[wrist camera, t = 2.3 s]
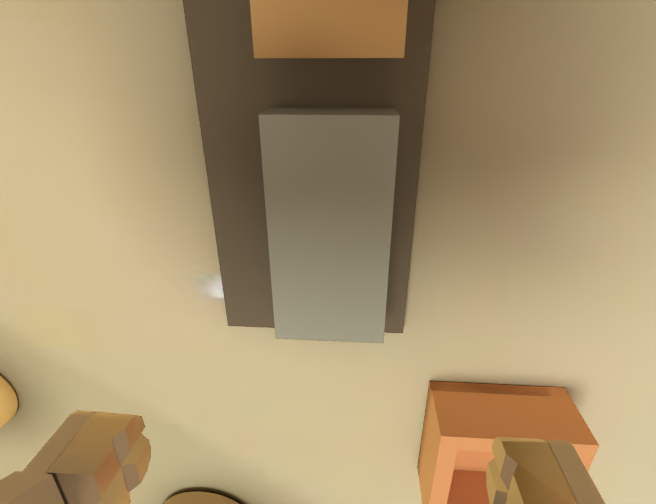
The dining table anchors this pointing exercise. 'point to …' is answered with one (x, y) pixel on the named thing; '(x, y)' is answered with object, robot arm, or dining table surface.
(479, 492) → the orange frame
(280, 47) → the oak board
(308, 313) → the slate board
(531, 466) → the robot arm
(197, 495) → the travel mug
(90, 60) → the dining table surface
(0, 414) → the beer glass
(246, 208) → the mat
